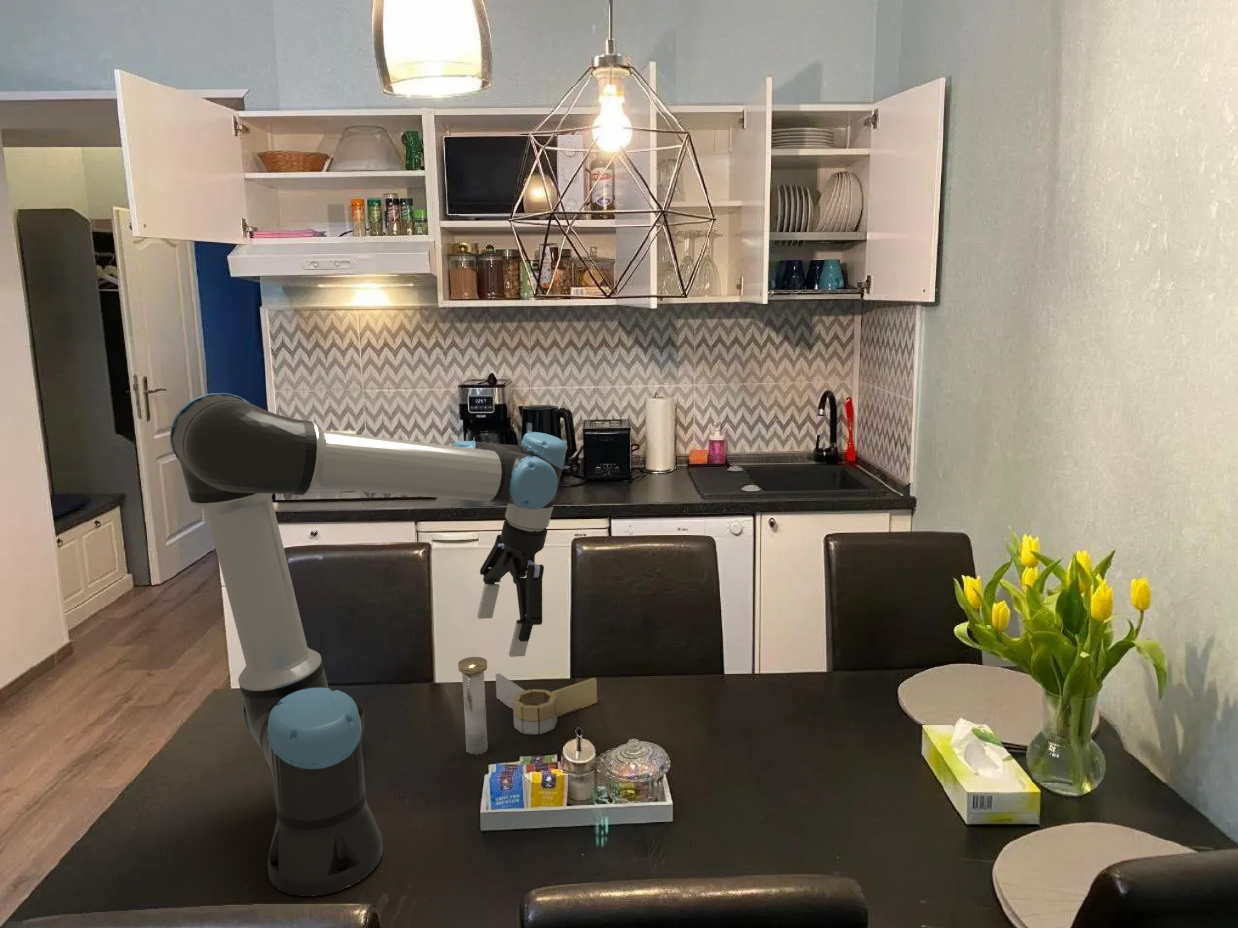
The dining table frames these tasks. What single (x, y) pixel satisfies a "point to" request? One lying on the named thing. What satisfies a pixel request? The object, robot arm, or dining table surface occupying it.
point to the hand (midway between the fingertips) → (500, 635)
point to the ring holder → (543, 703)
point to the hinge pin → (474, 703)
